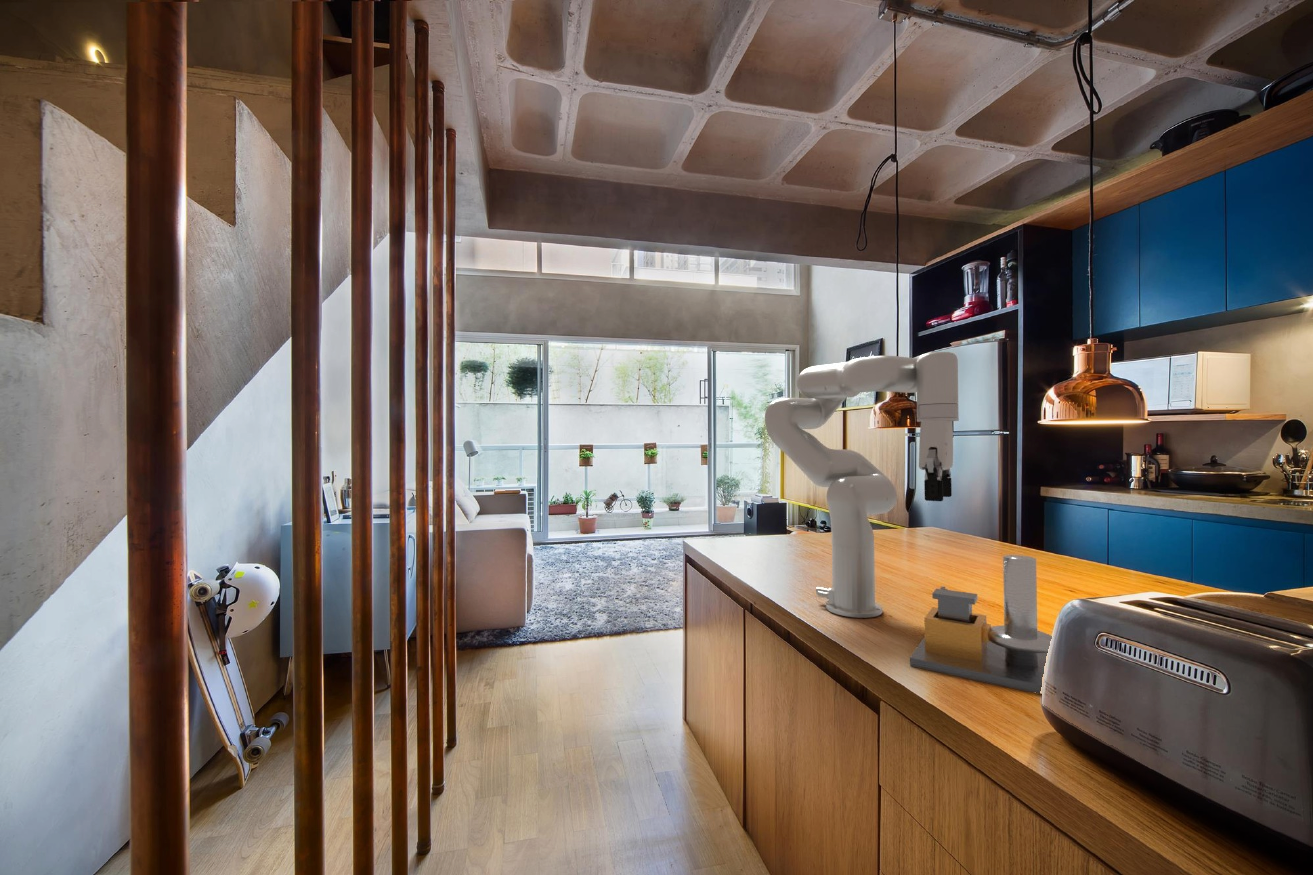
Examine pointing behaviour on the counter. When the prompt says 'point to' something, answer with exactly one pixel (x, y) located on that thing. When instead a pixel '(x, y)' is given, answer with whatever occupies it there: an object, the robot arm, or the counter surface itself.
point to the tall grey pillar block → (955, 605)
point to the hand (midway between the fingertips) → (938, 498)
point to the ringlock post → (992, 637)
